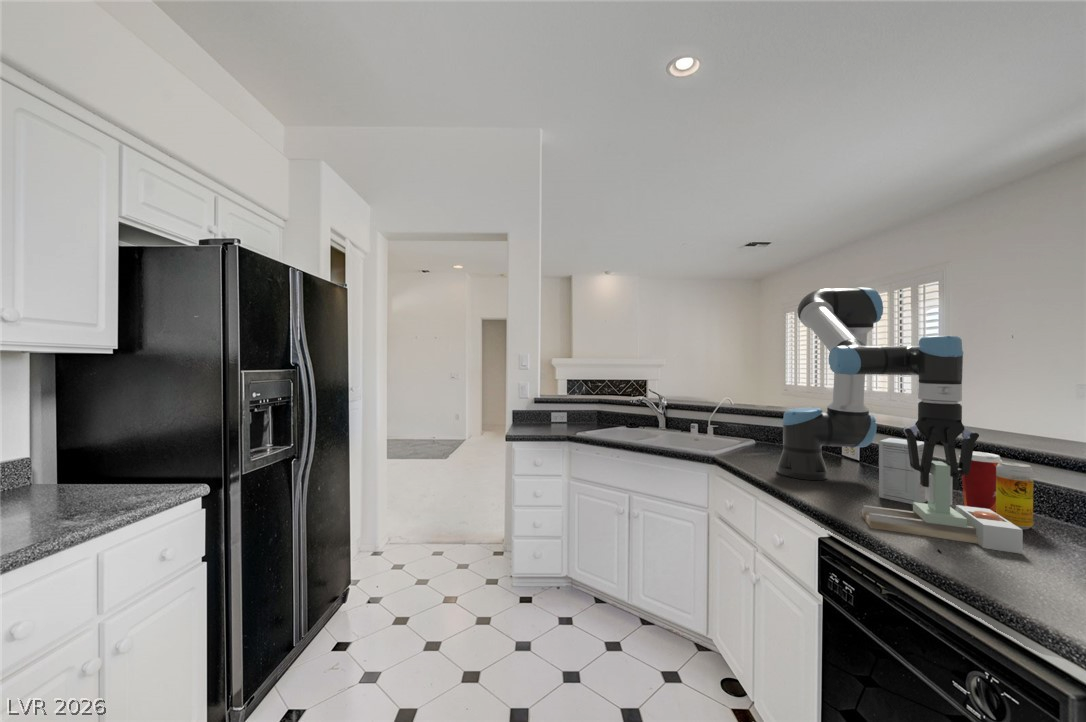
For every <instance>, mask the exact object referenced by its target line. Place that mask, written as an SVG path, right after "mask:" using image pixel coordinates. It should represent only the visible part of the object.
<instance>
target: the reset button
mask: <svg viewBox="0 0 1086 722" xmlns="http://www.w3.org/2000/svg"><path fill="white" fill-rule="evenodd" d="M974 517H976V518H979V519H987V520H995V521H1000V516H998V515H996V514H993V513H989V512H983V511H974Z"/></svg>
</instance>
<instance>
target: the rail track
mask: <svg viewBox="0 0 1086 722" xmlns="http://www.w3.org/2000/svg"><path fill="white" fill-rule="evenodd" d="M861 516H862V518H863V519H864V520H865V523H866V524H867V525H868V526H869V528H870V529H875V530H876V529H877V530H883V531H890V532H896V533H902V534H903V533H904V534H910V535H917V536H924V537H932V538H938V539H945V540H952V541H958V542H963V543H965V542H966V543H972V544H978V536H976V528H975V527H973V526H967V528H964V527H956V526H949V525H941V524H934V523H927V522H925V521H924V520H923V519H922V518H921V517H920V516H919V515H918V514H917V513H915V512H914V511H913V510H912V511H911V510H904V509H897V508H896V509H895V508H888V507H880V506H873V505H867V504H866V505H865V504H863V505H862V510H861ZM978 545H979V544H978Z"/></svg>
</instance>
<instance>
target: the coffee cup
mask: <svg viewBox="0 0 1086 722" xmlns="http://www.w3.org/2000/svg"><path fill="white" fill-rule="evenodd" d="M959 458H960V455H959ZM999 462H1004V461H1003V460H1002V458H1001V456H1000V455H999V454H995V453H991V452H990V453H989V452H984V451H983V452H982V451H975V450H973V454H972V460H971V467H970V473H969V474H968V475H961V478H962V479H961V482H962V492H963V493H962V494H963V503H964V504H963V506H968V507H977V508H985V509H990V510H992V511H993V512H995V511H996V466H997V465H998V463H999ZM995 513H996V512H995Z"/></svg>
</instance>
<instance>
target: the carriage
mask: <svg viewBox="0 0 1086 722" xmlns="http://www.w3.org/2000/svg"><path fill="white" fill-rule="evenodd" d="M930 473H932V474H933V475H934V503H930V502H929V501H927V503H926V502H925V503H917V502H913V504H912V511H913V512H915V513H917V514H918V515H919V516H920V517H921V518H922V519H923V520H924V521H925V522H927V523H934V524H941V525H949V526H956V527H964V528H967V518H965V517H964V516H962V515H961V514H960V513H958V512H957V511H956V509H954V508H953V507H952V506H951V505H950V466H949V465H947V463H946V462H943V461H942V460H941V461H939V460H932V463H931V469H930Z"/></svg>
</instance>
